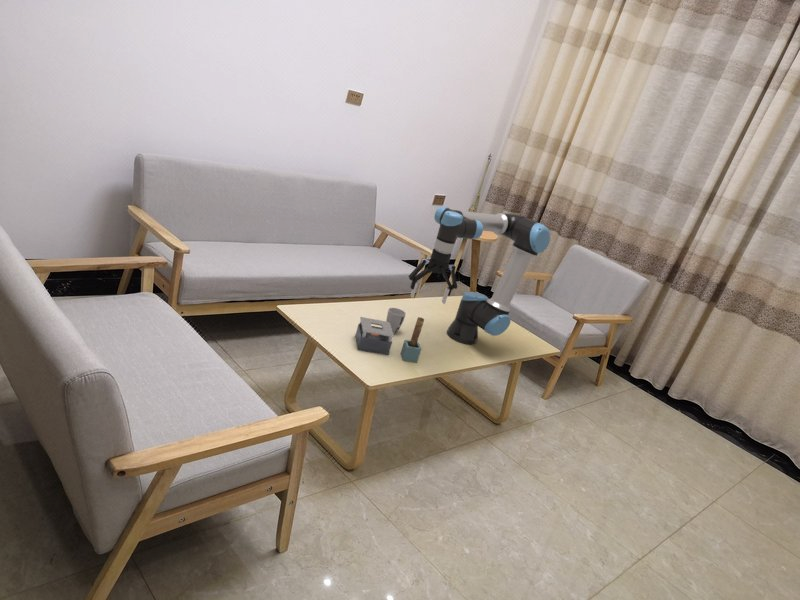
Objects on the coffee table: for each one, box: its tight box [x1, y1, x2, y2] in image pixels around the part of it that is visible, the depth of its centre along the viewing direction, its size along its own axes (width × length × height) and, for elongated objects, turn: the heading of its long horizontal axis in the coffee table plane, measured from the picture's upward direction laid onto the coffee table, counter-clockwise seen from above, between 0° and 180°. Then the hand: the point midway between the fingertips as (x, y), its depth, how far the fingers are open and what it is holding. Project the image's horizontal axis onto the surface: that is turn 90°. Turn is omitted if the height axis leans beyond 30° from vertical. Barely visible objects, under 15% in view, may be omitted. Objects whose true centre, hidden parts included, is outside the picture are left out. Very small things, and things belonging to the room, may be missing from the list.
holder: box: [400, 339, 422, 364], centre depth 226 cm, size 6×6×7 cm
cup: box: [385, 307, 407, 335], centre depth 246 cm, size 8×8×10 cm
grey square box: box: [354, 316, 395, 356], centre depth 227 cm, size 13×13×9 cm
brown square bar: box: [409, 316, 425, 347], centre depth 224 cm, size 3×3×18 cm
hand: (427, 299), depth 219 cm, fingers open, 13 cm apart
